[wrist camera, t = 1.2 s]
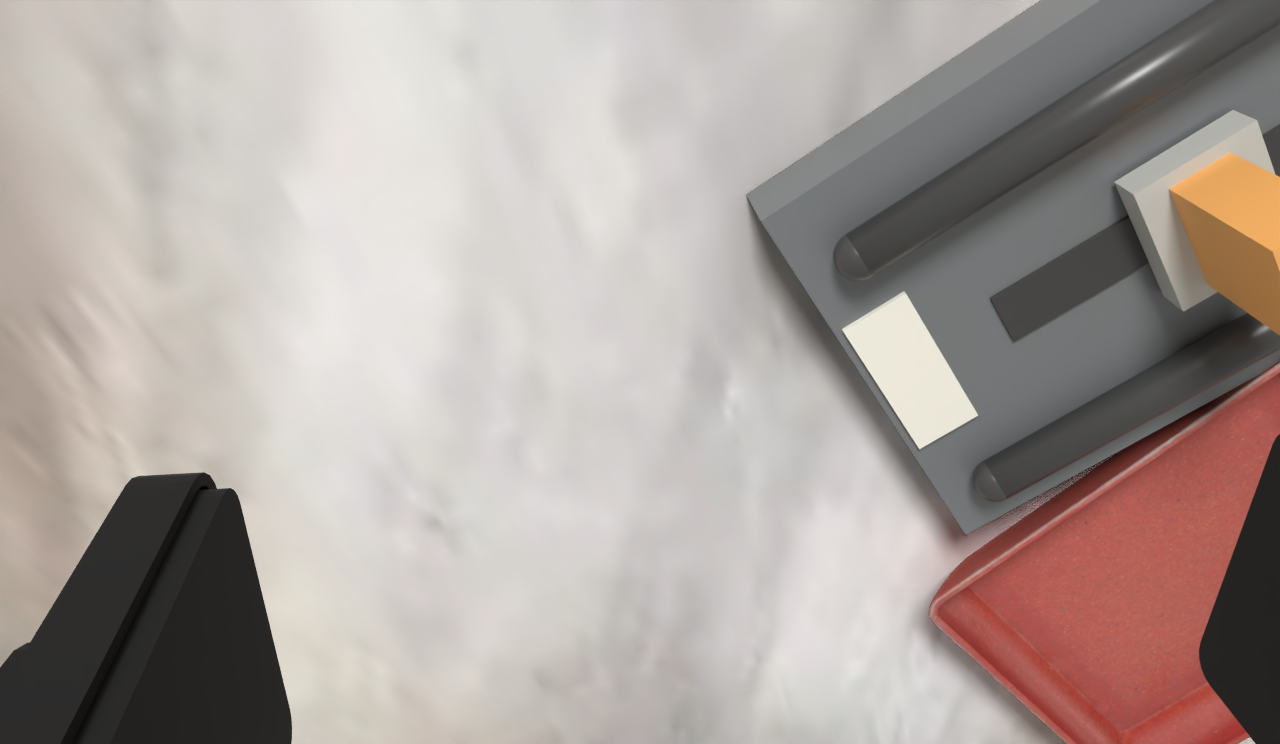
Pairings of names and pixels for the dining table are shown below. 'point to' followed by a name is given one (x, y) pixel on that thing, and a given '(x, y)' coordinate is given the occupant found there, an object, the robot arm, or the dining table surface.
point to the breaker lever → (1211, 218)
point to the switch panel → (1029, 241)
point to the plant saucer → (1121, 581)
